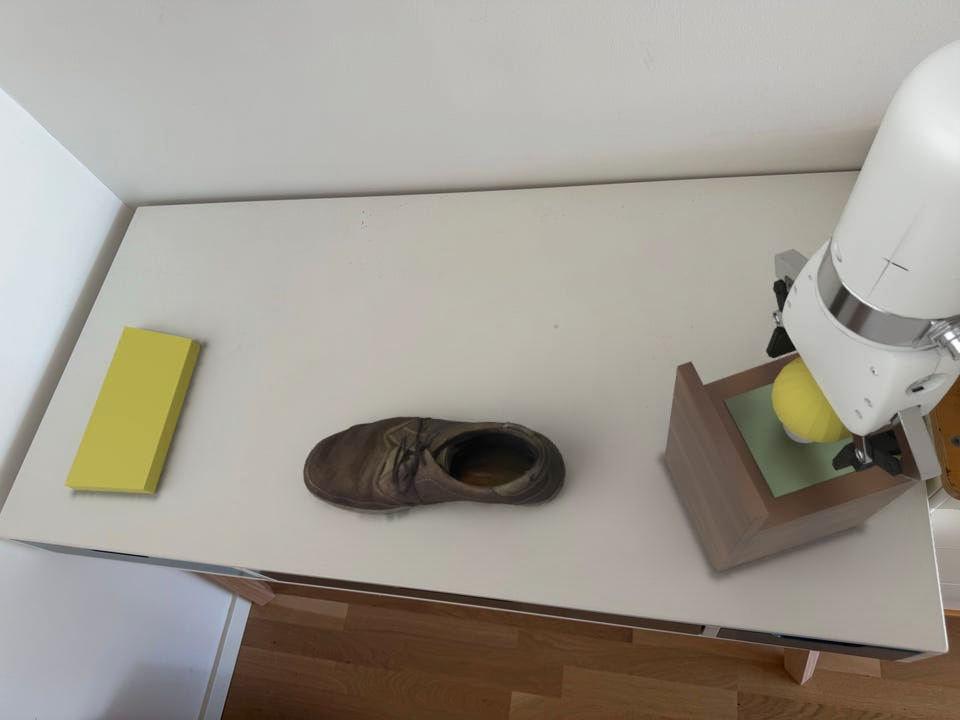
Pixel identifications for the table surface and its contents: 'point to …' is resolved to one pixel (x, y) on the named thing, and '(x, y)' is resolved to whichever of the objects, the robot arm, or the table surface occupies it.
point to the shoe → (433, 465)
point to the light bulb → (805, 407)
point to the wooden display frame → (761, 470)
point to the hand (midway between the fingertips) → (818, 402)
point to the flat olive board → (135, 414)
